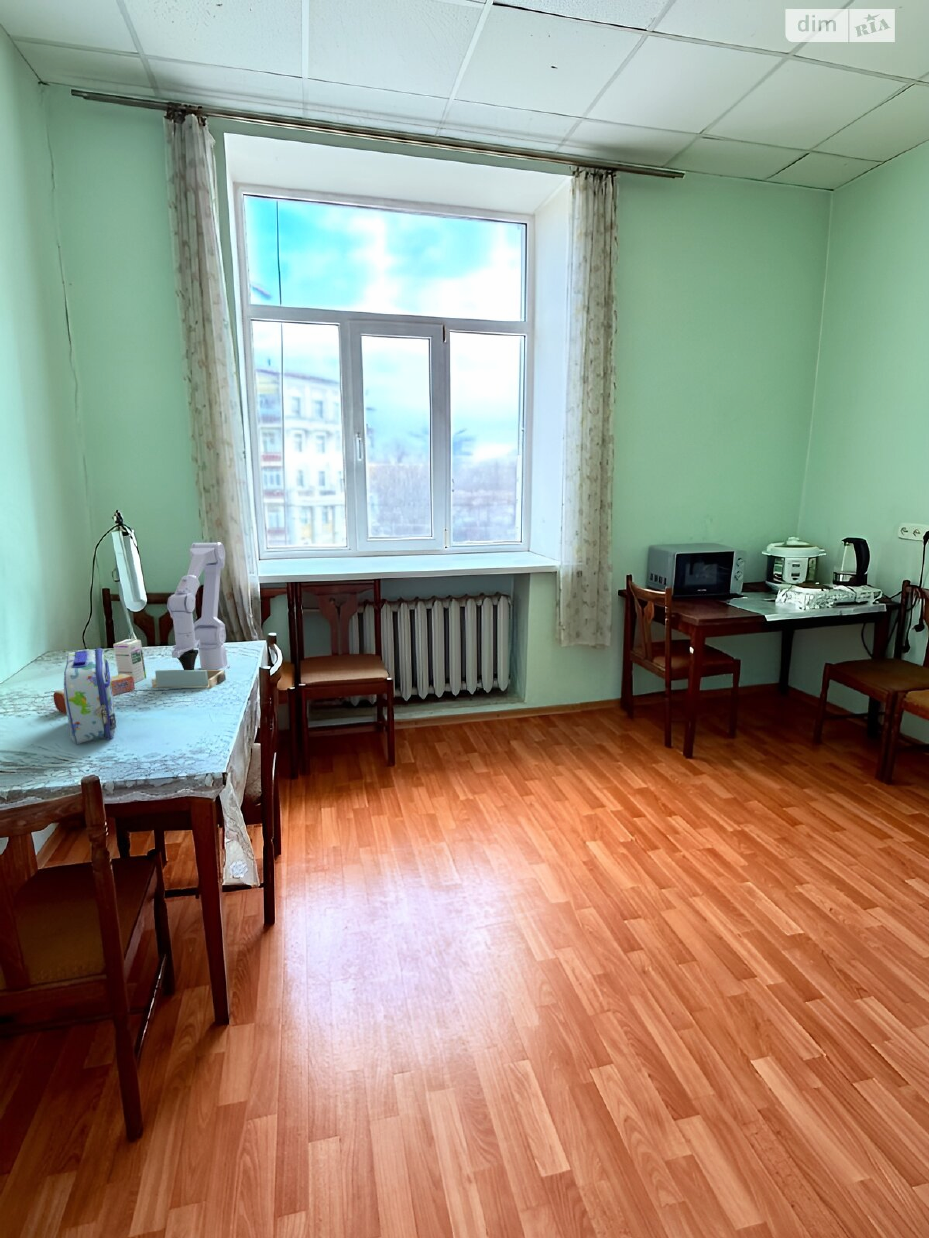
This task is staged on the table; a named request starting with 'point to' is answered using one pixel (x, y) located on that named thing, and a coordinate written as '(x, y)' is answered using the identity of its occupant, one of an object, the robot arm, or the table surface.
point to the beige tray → (213, 679)
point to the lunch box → (89, 696)
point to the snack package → (117, 682)
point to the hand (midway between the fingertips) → (189, 673)
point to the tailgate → (181, 678)
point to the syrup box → (130, 659)
